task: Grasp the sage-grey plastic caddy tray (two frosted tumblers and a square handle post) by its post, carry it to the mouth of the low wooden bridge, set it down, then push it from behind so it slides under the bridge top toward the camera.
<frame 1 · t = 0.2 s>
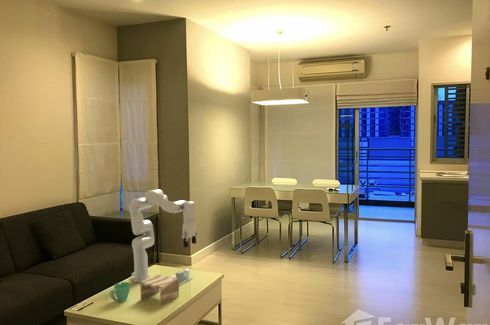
hand: (189, 245, 271), 31 cm above the table, fingers open, 9 cm apart
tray: (180, 282, 287), on the table
mug: (119, 301, 255), on the table
wooden bridge: (160, 297, 260), on the table
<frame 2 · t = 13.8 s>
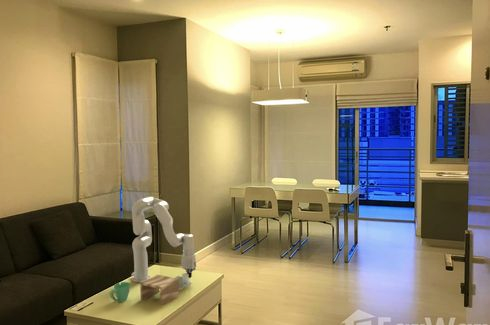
hand: (189, 277, 287), 4 cm above the table, fingers closed
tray: (178, 288, 277), on the table, touching gripper
everything else where it was.
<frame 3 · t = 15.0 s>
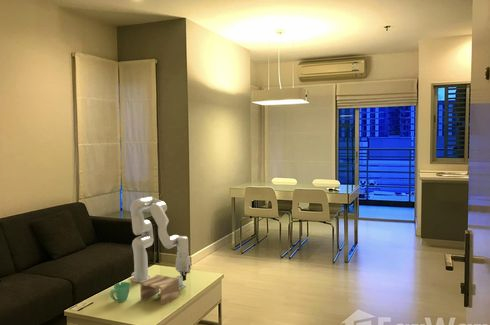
hand: (183, 280, 281), 4 cm above the table, fingers closed
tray: (172, 291, 272), on the table, touching gripper
everything else where it was.
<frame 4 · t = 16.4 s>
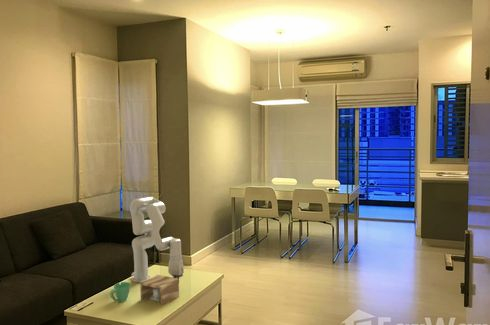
hand: (176, 283, 275), 4 cm above the table, fingers closed
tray: (165, 295, 265), on the table, touching gripper
everything else where it was.
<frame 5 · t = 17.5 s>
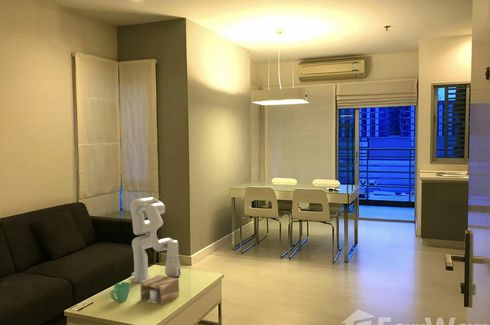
hand: (173, 285, 272), 4 cm above the table, fingers closed
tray: (161, 297, 262), on the table
everything else where it was.
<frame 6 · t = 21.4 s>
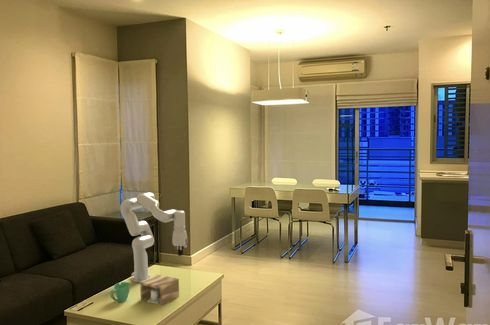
hand: (180, 255, 278), 22 cm above the table, fingers closed
at the end: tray inside the target area on the wooden bridge (0.6 cm from its centre), point 0.0 cm above the wooden bridge's base; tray tilted 0° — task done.
